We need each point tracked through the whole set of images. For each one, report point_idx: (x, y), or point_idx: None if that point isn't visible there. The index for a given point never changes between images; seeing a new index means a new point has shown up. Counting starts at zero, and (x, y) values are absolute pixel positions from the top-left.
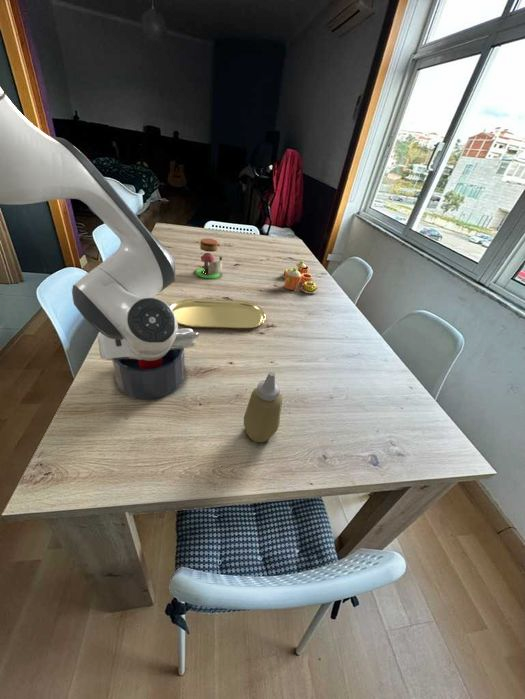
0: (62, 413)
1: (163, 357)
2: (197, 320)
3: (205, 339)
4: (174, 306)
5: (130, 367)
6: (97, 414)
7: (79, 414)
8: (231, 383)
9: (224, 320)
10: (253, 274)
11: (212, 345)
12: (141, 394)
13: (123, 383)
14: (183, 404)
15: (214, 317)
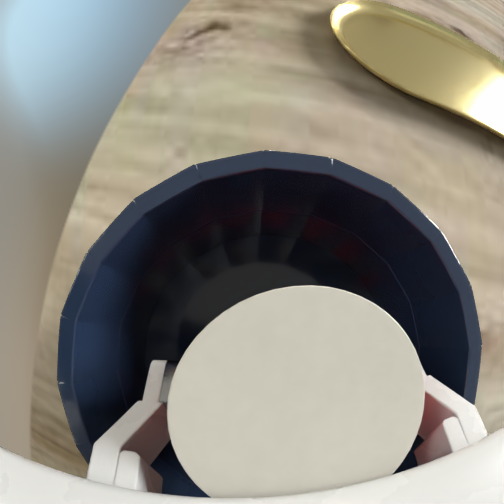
0: (30, 433)
1: (324, 248)
2: (420, 73)
3: (456, 165)
4: (345, 11)
5: (184, 292)
6: None
7: (62, 456)
8: (496, 405)
9: (484, 100)
10: (477, 3)
11: (477, 203)
12: None
13: None
14: None
15: (459, 79)
